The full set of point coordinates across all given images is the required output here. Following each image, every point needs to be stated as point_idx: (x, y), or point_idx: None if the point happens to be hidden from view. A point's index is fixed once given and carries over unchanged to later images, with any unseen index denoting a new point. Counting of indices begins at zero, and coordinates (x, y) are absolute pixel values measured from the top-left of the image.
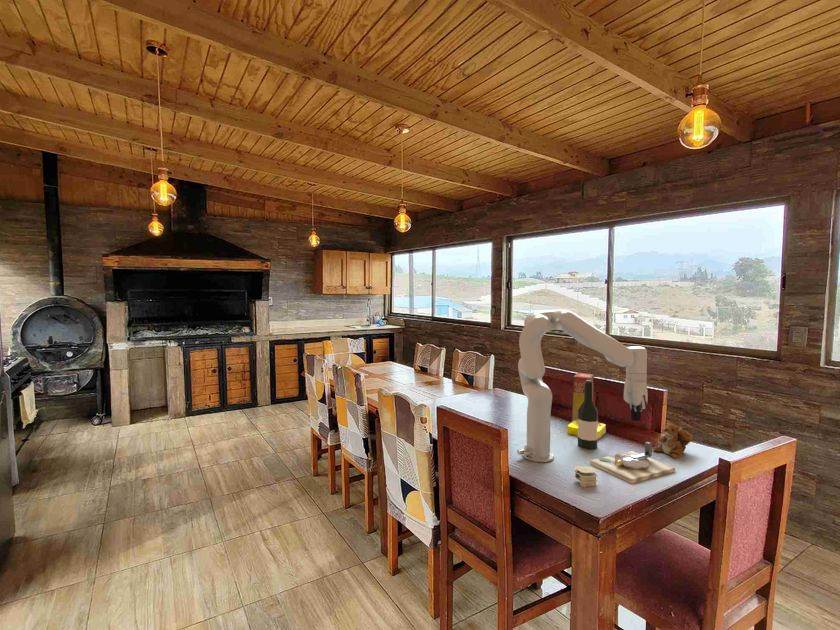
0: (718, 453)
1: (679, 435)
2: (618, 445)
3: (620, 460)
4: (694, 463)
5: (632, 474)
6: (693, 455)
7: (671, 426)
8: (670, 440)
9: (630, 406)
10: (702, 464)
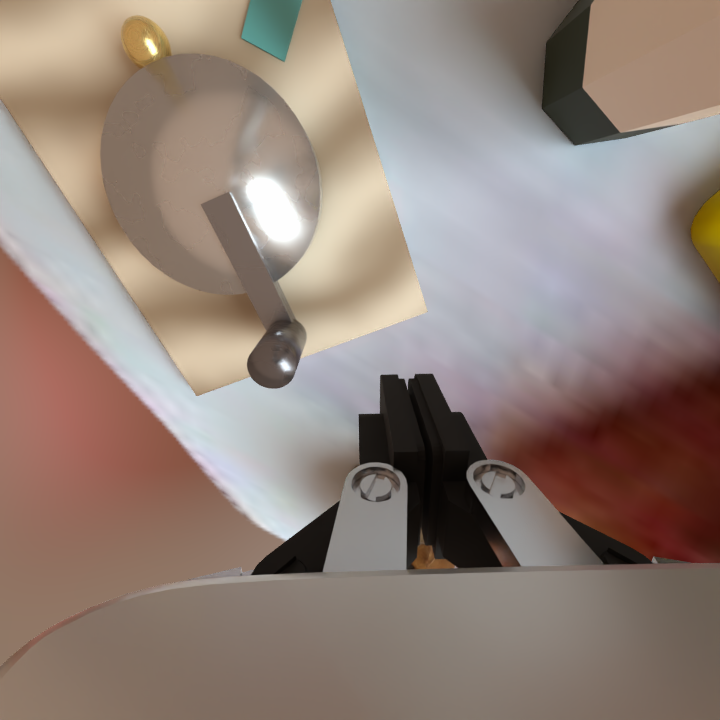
0: None
1: None
2: (559, 307)
3: (157, 63)
4: (299, 504)
5: (47, 89)
6: None
7: None
8: None
9: (542, 511)
10: (290, 523)
